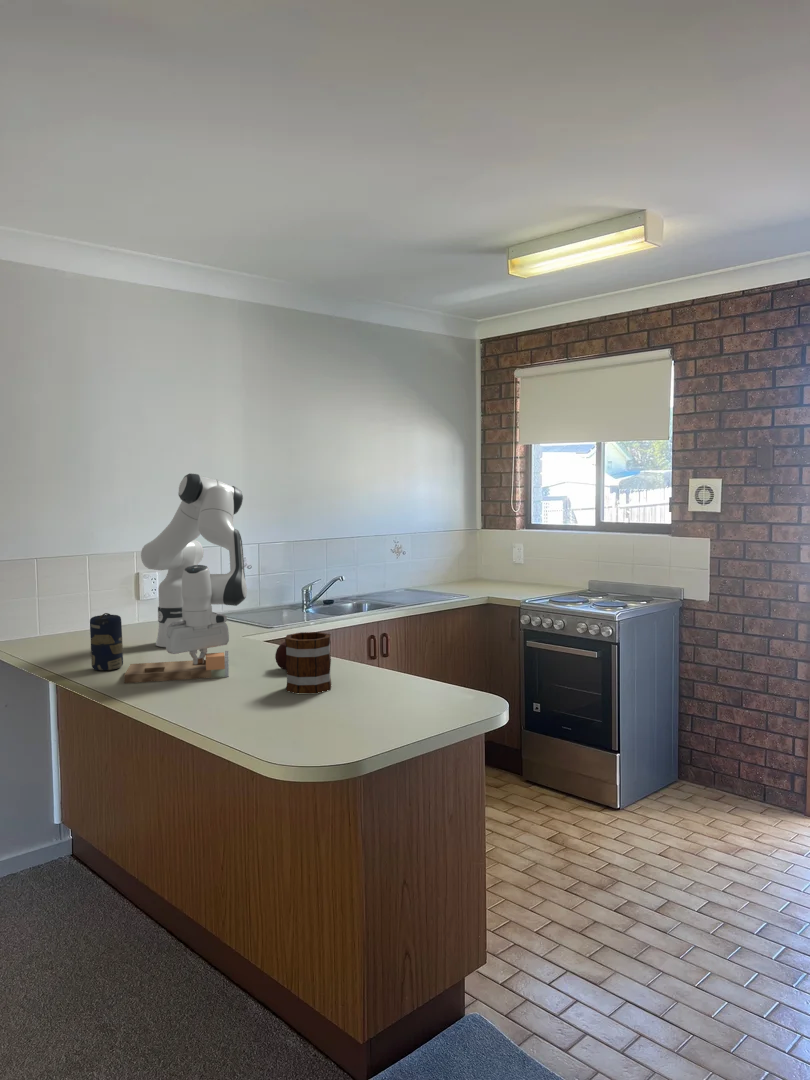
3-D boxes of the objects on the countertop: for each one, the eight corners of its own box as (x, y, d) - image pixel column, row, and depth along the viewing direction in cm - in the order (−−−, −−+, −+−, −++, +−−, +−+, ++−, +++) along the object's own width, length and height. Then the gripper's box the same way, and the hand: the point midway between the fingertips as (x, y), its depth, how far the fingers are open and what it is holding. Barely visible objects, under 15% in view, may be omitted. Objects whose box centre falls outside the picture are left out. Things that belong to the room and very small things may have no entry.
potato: (293, 665, 255) (292, 636, 254) (312, 671, 245) (311, 642, 245) (269, 669, 249) (268, 640, 249) (287, 675, 240) (287, 645, 239)
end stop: (225, 677, 239) (224, 660, 239) (225, 666, 254) (225, 650, 254) (228, 676, 239) (228, 660, 239) (228, 666, 254) (228, 650, 254)
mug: (319, 696, 216) (318, 641, 215) (276, 692, 221) (275, 639, 220) (349, 679, 234) (348, 629, 233) (308, 676, 239) (307, 627, 238)
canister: (129, 667, 255) (127, 611, 254) (107, 673, 246) (105, 616, 245) (107, 664, 259) (105, 610, 258) (84, 670, 250) (82, 614, 249)
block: (206, 670, 238) (205, 657, 237) (205, 666, 243) (205, 653, 243) (224, 668, 239) (224, 655, 239) (224, 665, 244) (223, 652, 244)
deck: (124, 683, 233) (124, 674, 233) (130, 671, 248) (130, 663, 248) (225, 677, 239) (224, 668, 239) (225, 666, 254) (225, 658, 254)
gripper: (172, 624, 230) (173, 671, 231) (231, 615, 245) (232, 659, 246) (161, 622, 235) (162, 668, 235) (219, 614, 250) (220, 657, 250)
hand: (198, 663), depth 241 cm, fingers closed
